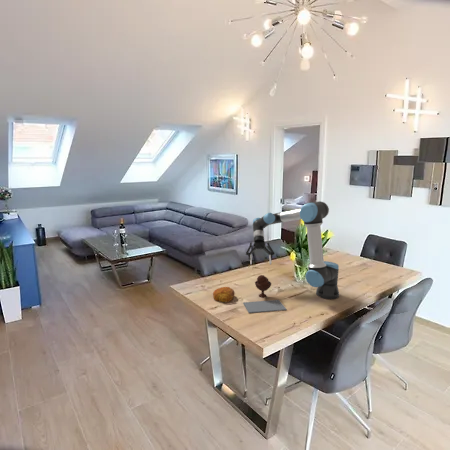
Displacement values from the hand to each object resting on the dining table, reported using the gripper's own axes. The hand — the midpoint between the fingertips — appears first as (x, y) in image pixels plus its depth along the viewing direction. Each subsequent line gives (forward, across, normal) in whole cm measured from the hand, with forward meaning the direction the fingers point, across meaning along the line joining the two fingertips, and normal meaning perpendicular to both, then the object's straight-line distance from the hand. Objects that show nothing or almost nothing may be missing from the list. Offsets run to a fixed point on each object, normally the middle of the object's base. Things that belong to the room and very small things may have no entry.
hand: (260, 263), depth 234 cm
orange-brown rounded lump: (+24, +26, -4) cm, 35 cm away
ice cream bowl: (+22, 0, -6) cm, 22 cm away
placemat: (+33, +1, +6) cm, 33 cm away
